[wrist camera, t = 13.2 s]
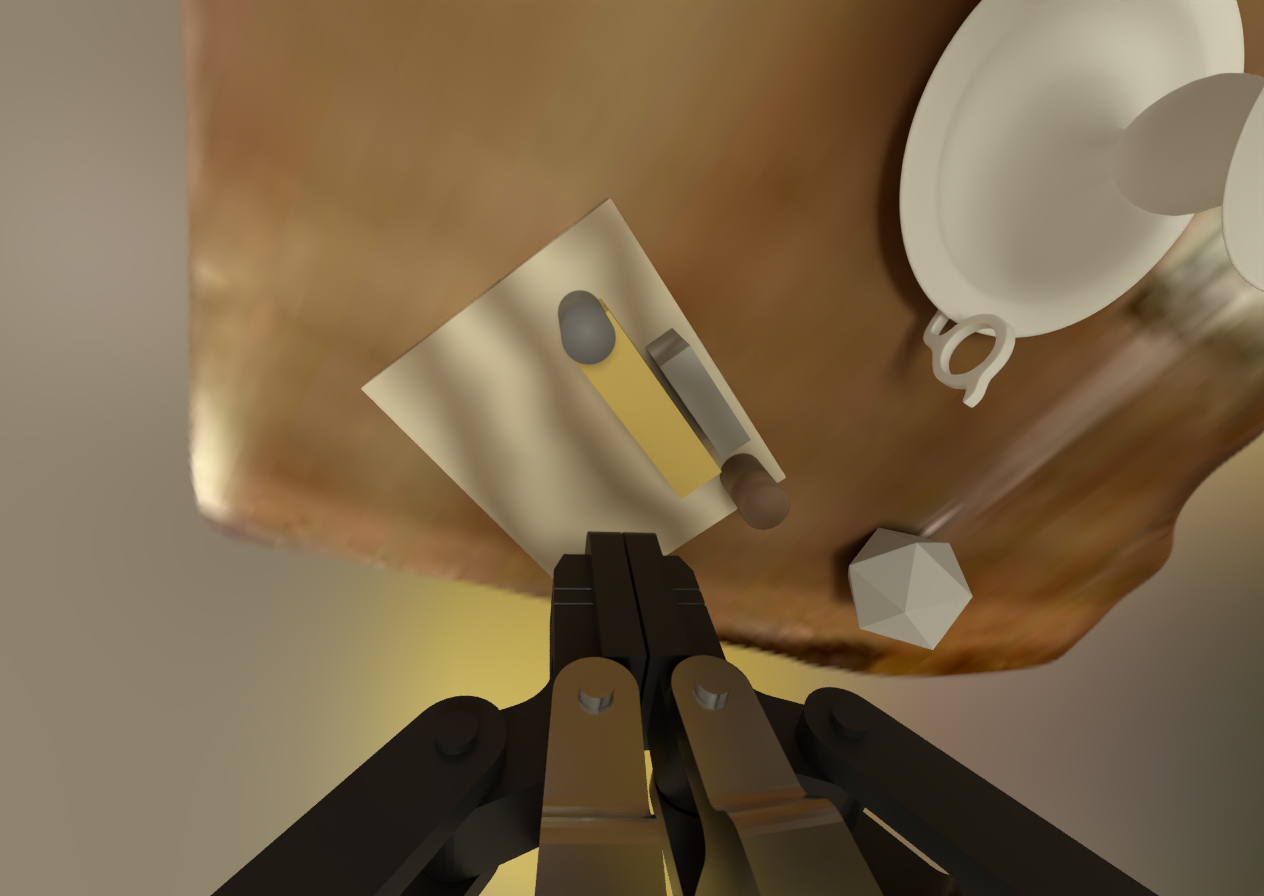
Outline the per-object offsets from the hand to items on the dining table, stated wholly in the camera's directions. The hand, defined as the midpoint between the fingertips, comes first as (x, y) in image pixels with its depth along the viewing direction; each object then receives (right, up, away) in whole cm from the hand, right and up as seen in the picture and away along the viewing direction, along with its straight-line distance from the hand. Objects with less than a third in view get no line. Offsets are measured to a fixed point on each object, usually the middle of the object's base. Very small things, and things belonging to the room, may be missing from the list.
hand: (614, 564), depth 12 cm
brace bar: (0, +7, +22) cm, 23 cm away
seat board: (-2, +4, +25) cm, 25 cm away
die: (+21, -6, +33) cm, 40 cm away
